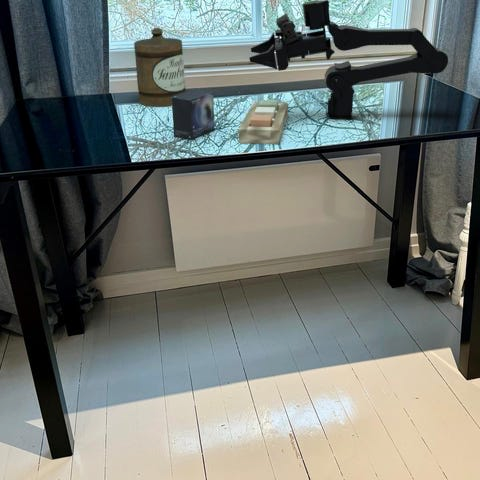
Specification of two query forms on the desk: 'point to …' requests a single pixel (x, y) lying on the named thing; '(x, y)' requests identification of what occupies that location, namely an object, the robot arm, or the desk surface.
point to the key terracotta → (261, 121)
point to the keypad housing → (263, 133)
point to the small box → (193, 113)
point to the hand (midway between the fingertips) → (250, 54)
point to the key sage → (269, 104)
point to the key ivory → (265, 111)
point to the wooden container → (159, 69)
